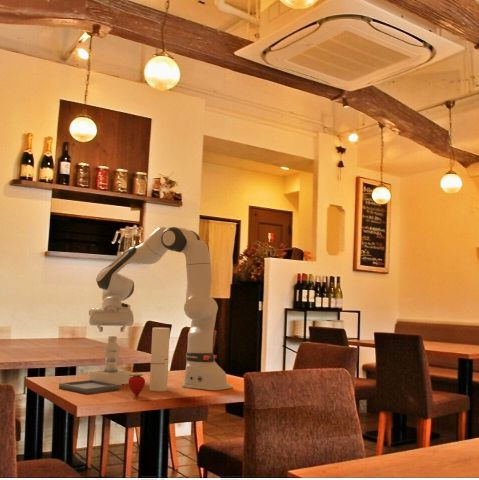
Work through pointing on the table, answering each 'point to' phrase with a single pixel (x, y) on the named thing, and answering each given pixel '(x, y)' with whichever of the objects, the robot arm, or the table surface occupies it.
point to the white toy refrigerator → (159, 359)
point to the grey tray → (89, 386)
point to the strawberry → (136, 383)
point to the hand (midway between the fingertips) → (111, 331)
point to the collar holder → (111, 376)
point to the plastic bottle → (111, 355)
